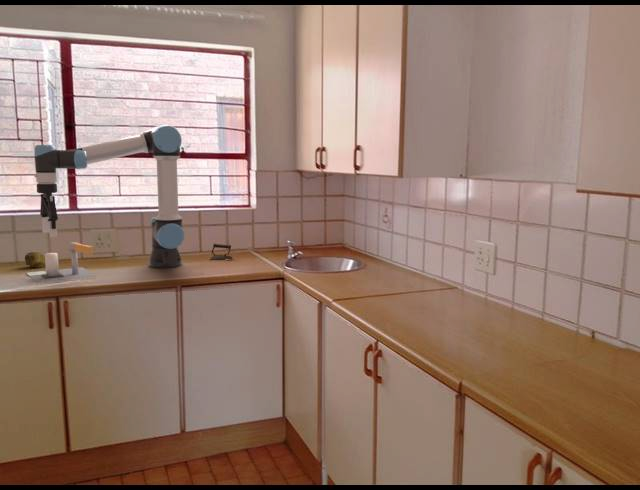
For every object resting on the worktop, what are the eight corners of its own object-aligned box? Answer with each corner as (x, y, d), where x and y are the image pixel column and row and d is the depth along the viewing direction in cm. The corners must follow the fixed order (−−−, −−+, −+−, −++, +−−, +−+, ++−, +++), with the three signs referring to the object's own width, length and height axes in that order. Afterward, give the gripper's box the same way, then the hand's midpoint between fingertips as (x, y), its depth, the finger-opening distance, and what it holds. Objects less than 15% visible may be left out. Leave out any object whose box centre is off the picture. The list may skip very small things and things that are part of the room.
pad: (44, 271, 242) (44, 270, 242) (48, 274, 237) (47, 273, 237) (26, 273, 238) (26, 272, 238) (29, 276, 233) (29, 275, 233)
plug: (57, 273, 238) (56, 252, 236) (60, 275, 234) (58, 254, 232) (45, 274, 235) (43, 253, 233) (47, 276, 231) (46, 255, 230)
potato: (58, 268, 254) (57, 251, 253) (27, 271, 246) (26, 254, 245) (53, 265, 261) (52, 248, 260) (23, 268, 253) (21, 251, 251)
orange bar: (67, 249, 238) (66, 242, 237) (76, 248, 241) (75, 241, 240) (86, 254, 228) (86, 247, 227) (95, 253, 231) (95, 246, 230)
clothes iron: (211, 258, 286) (216, 240, 285) (233, 264, 285) (237, 245, 284) (208, 260, 279) (213, 240, 278) (229, 266, 278) (234, 246, 277)
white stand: (82, 269, 253) (81, 245, 252) (95, 278, 237) (94, 252, 235) (26, 275, 240) (24, 250, 238) (36, 285, 223) (34, 258, 221)
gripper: (30, 181, 236) (33, 231, 239) (43, 185, 216) (46, 239, 220) (49, 181, 240) (52, 230, 244) (63, 184, 221) (67, 237, 224)
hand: (49, 234), depth 232 cm, fingers open, 13 cm apart
